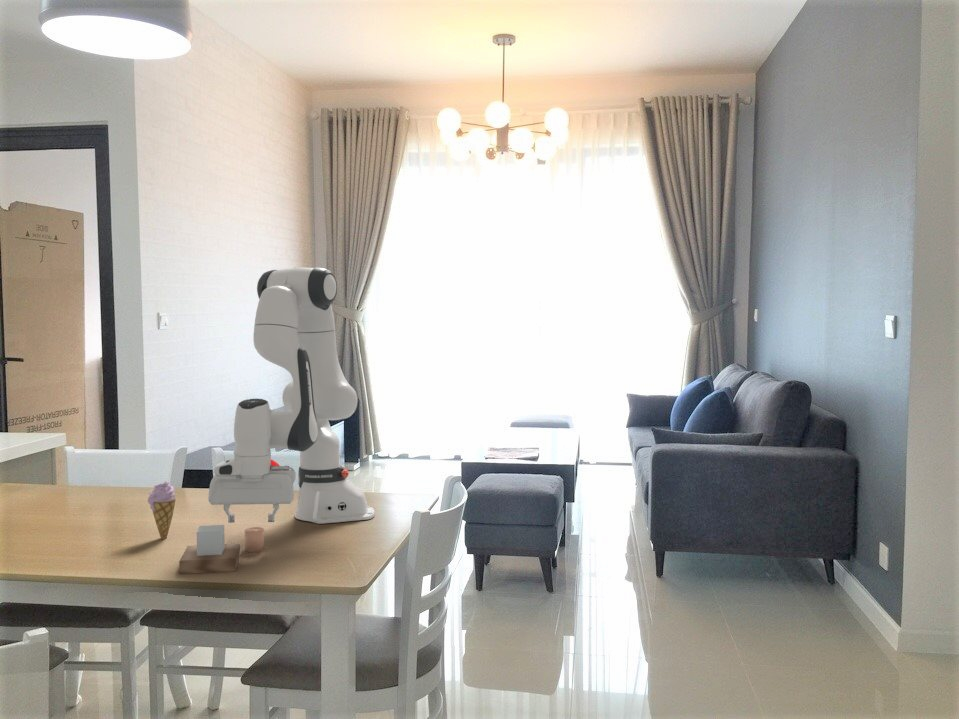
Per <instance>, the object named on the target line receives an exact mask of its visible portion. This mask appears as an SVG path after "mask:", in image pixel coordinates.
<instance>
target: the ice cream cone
mask: <svg viewBox="0 0 959 719" xmlns="http://www.w3.org/2000/svg"><path fill="white" fill-rule="evenodd" d="M148 495H149V496H148V498H147V502H148V504H149V505H150V507H149V508H150V509H151V510H152V514H153V518H154V521H155V524H156V527H157V530H158V534H159V536H160V539H162V540H165V539H168V534H169V531H170V528H171V525H172V524H171V523H172V519H173V516H174V511H175V507H176V493H175V487H174V486H173V485H172V484H171V482H168V481H167V480H166V481H164V482H163V483H158V484H155V485H154V488H153V490H152V491H149V492H148Z"/></svg>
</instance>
